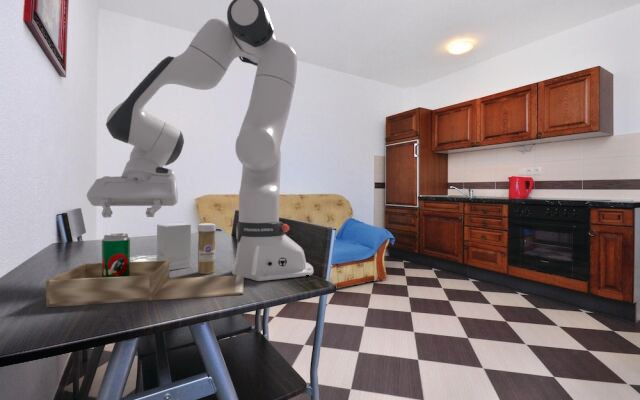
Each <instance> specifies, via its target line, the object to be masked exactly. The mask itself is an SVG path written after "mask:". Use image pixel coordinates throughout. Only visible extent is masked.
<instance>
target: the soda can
mask: <svg viewBox="0 0 640 400" xmlns="http://www.w3.org/2000/svg"><path fill="white" fill-rule="evenodd" d="M130 262H131V239H130V237H129V234H128V233H123V232H122V233H120V232H119V233H108V234H104V235H103V238H102V240H101V263H102V278H106V277H128V276H130Z"/></svg>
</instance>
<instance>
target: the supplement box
mask: <svg viewBox="0 0 640 400" xmlns="http://www.w3.org/2000/svg"><path fill="white" fill-rule="evenodd" d="M191 226H192V224H189V223H184V222H176V223H175V222H174V223H159V224H157V225H156V261H167V260H169V271H174V270H182V269H186V268H191V265H192V261H191V258H192V238H191V237H192V227H191Z"/></svg>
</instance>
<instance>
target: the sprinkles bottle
mask: <svg viewBox="0 0 640 400" xmlns="http://www.w3.org/2000/svg"><path fill="white" fill-rule="evenodd" d="M216 230H217V229H216V224H215V223H210V222H209V223H208V222H206V223H205V222H204V223H199V224H198V225H197V231H198V238H197V239H198V240H197V241H198V242H197V262H198V263H197V274H200V275H210V274H214V273H215V271H216V269H215V263H216V262H215V261H216Z"/></svg>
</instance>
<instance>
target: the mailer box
mask: <svg viewBox="0 0 640 400" xmlns="http://www.w3.org/2000/svg"><path fill="white" fill-rule="evenodd" d="M244 280H245V278H244V277H243V276H238V275H234V274H233V275H219V276H218V275H217V276H199V277H182V278H181V277H178V278H177V277H176V278H175V277H173V278H170V270H169V260H167V261H157V260H144V261H143V260H141V261H130V276H128V277H106V278H102V262H91V263H89V262H88V263H87V262H86V263H84V264H81V265H79V266H77V267H74V268H72V269H69V270H67V271H66V272H63V273H61V274H58V275H57V276H54V277H51V278H49V279H48V280H46V281H45V287H46V288H45V289H46V290H45V292H46V294H45V295H46V296H45V297H46V298H45V299H46V300H45V301H46V302H45V304H46V306H45V307H46V308H52V307H53V308H54V307H55V308H56V307H71V306H73V307H74V306H87V305H101V304H102V305H104V304H115V303H132V302H133V303H134V302H147V301H148V302H150V301H162V300H163V301H164V300H176V299H177V300H179V299H180V300H181V299H191V298H192V299H194V298H206V297H207V298H210V297H224V296H225V297H226V296H227V297H228V296H239V295H240V294H242V295H244V287H245V286H244V282H245V281H244Z"/></svg>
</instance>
